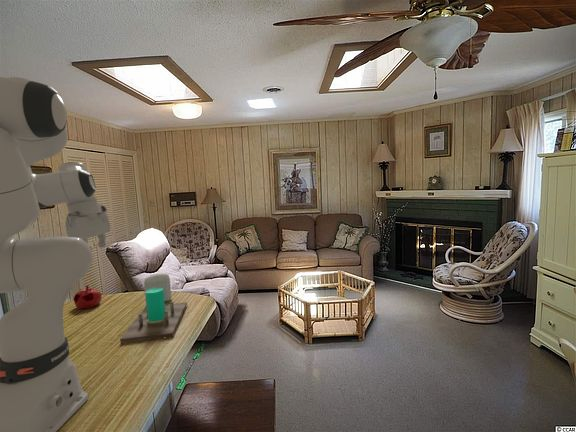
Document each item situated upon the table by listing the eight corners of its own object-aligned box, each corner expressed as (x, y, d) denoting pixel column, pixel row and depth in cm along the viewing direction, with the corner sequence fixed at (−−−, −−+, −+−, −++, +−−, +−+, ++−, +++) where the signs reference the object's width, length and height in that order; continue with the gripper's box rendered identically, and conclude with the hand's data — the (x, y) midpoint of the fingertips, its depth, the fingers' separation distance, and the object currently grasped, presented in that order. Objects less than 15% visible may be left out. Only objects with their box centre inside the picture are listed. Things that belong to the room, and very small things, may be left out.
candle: (160, 321, 106) (157, 289, 104) (144, 321, 107) (141, 289, 105) (169, 314, 112) (166, 283, 110) (154, 314, 112) (151, 283, 111)
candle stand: (172, 337, 98) (171, 321, 97) (120, 343, 95) (118, 327, 95) (186, 305, 123) (185, 293, 123) (146, 310, 121) (144, 297, 120)
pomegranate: (85, 302, 134) (83, 282, 133) (107, 301, 133) (105, 281, 132) (68, 311, 124) (65, 289, 123) (91, 310, 123) (89, 288, 123)
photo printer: (170, 297, 134) (167, 270, 132) (172, 300, 130) (170, 272, 129) (145, 303, 128) (142, 275, 127) (146, 306, 125) (144, 278, 123)
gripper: (76, 211, 92) (88, 254, 93) (108, 206, 112) (118, 242, 113) (54, 215, 91) (68, 258, 93) (91, 210, 111) (101, 245, 113)
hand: (96, 249), depth 103 cm, fingers open, 8 cm apart
